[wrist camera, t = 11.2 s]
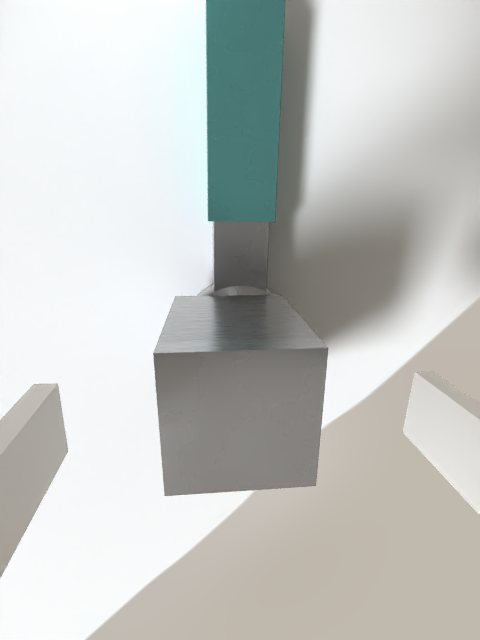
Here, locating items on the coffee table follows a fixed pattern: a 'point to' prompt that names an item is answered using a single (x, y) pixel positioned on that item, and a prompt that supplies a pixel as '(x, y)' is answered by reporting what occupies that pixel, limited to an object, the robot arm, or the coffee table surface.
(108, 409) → the coffee table surface
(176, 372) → the grey metal block
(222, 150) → the ratchet
